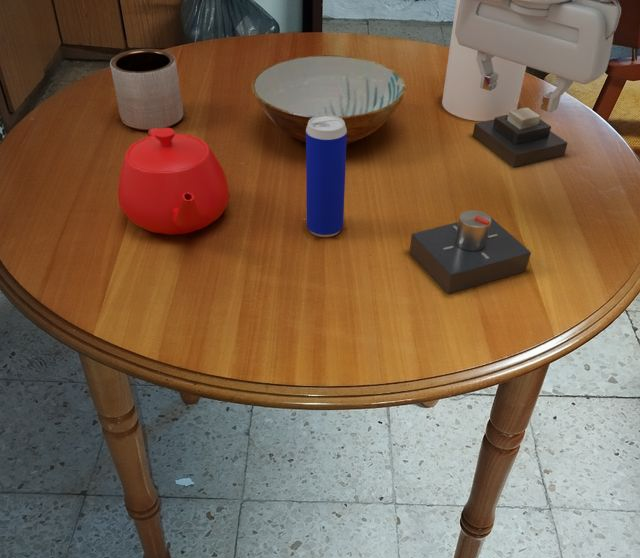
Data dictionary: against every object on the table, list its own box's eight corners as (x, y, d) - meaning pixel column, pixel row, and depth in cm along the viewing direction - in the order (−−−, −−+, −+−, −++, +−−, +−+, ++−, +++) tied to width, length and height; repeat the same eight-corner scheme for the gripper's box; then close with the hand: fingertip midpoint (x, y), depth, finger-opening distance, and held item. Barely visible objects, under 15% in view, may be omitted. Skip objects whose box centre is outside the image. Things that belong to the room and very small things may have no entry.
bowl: (358, 92, 127) (361, 45, 121) (429, 149, 112) (436, 99, 106) (233, 116, 119) (228, 68, 113) (290, 181, 104) (289, 129, 98)
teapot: (110, 185, 103) (91, 104, 94) (210, 168, 107) (200, 88, 98) (141, 278, 87) (121, 191, 78) (256, 254, 91) (250, 168, 82)
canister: (527, 118, 120) (558, -11, 105) (454, 123, 118) (474, -8, 103) (502, 87, 128) (527, -36, 114) (433, 91, 127) (449, -33, 112)
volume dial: (449, 242, 88) (453, 216, 85) (467, 230, 90) (472, 204, 87) (474, 254, 86) (479, 228, 83) (492, 242, 88) (498, 216, 85)
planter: (140, 138, 113) (128, 79, 106) (110, 116, 119) (97, 58, 112) (195, 121, 118) (188, 62, 111) (164, 100, 124) (155, 43, 116)
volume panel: (483, 233, 95) (487, 212, 93) (525, 271, 89) (531, 251, 87) (409, 252, 92) (411, 232, 89) (447, 294, 86) (451, 273, 83)
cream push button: (524, 117, 112) (527, 107, 110) (538, 126, 110) (540, 116, 108) (506, 121, 111) (509, 110, 109) (519, 130, 109) (522, 119, 107)
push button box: (520, 125, 118) (526, 102, 115) (564, 155, 111) (571, 131, 108) (472, 136, 115) (476, 112, 112) (513, 167, 108) (519, 143, 105)
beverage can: (338, 217, 98) (341, 112, 86) (347, 236, 94) (351, 129, 83) (303, 221, 97) (302, 115, 86) (310, 240, 93) (310, 133, 82)
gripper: (640, -12, 74) (601, 115, 85) (487, -47, 84) (469, 71, 94) (610, 1, 71) (574, 131, 82) (456, -37, 81) (441, 83, 91)
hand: (517, 98), depth 88 cm, fingers open, 8 cm apart
